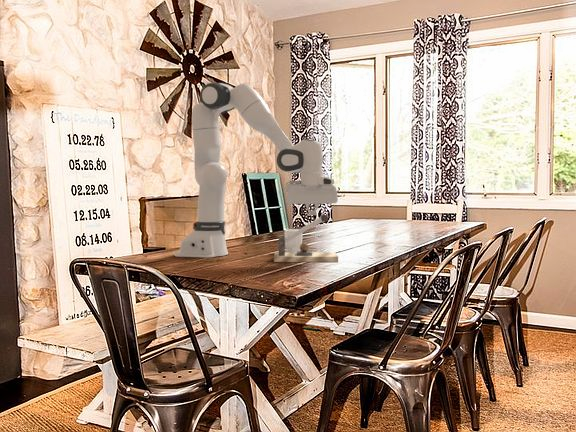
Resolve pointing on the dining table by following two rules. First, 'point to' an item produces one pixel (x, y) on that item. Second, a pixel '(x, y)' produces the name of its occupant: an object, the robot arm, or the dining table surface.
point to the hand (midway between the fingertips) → (312, 215)
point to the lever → (306, 227)
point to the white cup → (293, 241)
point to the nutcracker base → (302, 254)
